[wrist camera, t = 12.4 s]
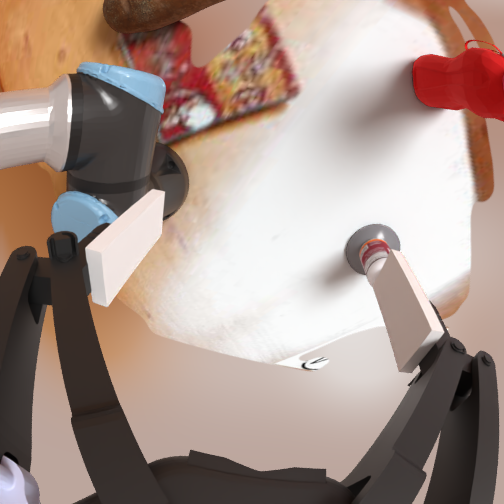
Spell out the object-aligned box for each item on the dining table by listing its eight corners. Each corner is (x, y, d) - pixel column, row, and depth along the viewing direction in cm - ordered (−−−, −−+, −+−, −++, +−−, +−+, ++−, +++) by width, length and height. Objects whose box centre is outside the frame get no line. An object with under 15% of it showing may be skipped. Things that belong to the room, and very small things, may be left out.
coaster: (338, 266, 56) (338, 268, 56) (358, 217, 51) (359, 218, 50) (385, 278, 56) (386, 280, 56) (407, 232, 51) (408, 234, 50)
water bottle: (451, 53, 32) (547, 47, 11) (455, 110, 38) (552, 138, 16) (406, 44, 34) (494, 21, 12) (412, 104, 39) (503, 124, 18)
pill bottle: (390, 259, 54) (407, 294, 44) (361, 268, 55) (373, 304, 46) (386, 232, 51) (404, 265, 41) (355, 241, 53) (368, 275, 43)
